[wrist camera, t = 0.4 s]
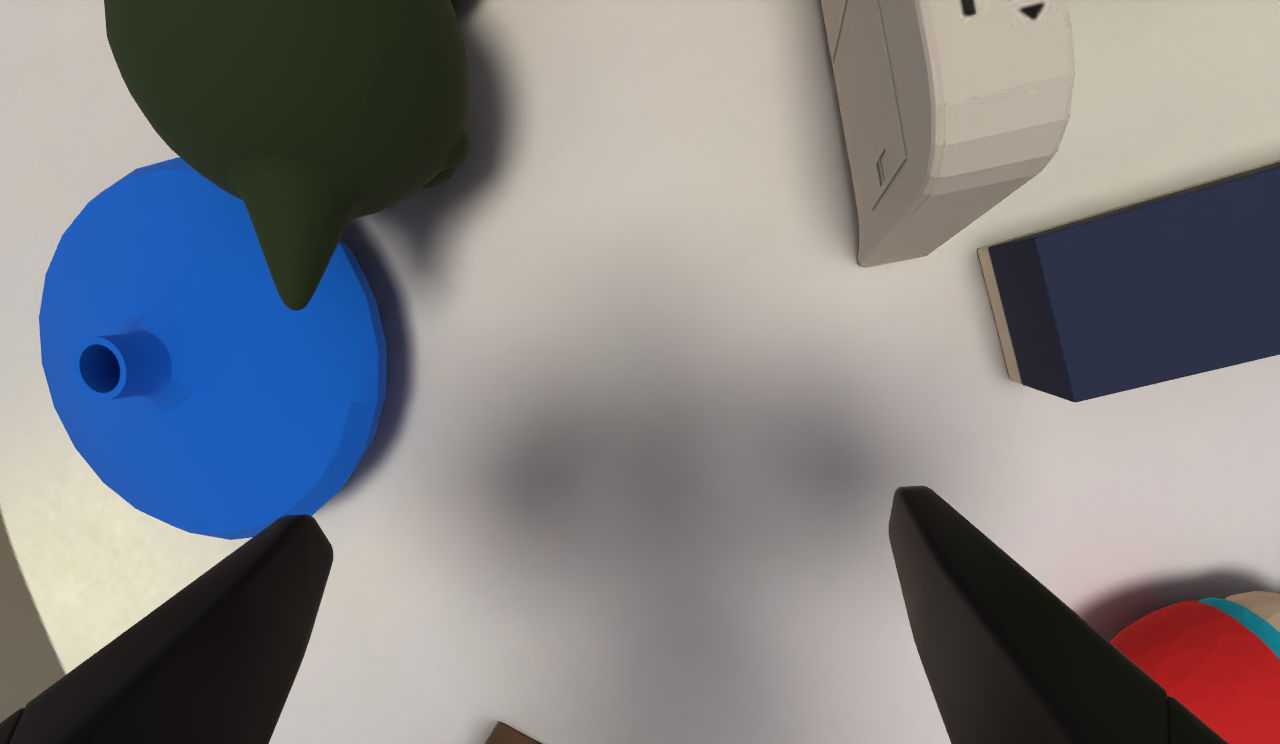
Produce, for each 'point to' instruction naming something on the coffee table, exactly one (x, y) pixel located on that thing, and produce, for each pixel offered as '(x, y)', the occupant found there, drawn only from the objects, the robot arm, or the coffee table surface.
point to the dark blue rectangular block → (1143, 289)
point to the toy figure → (1216, 661)
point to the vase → (206, 359)
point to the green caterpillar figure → (300, 108)
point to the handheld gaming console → (945, 110)
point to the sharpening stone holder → (507, 736)
